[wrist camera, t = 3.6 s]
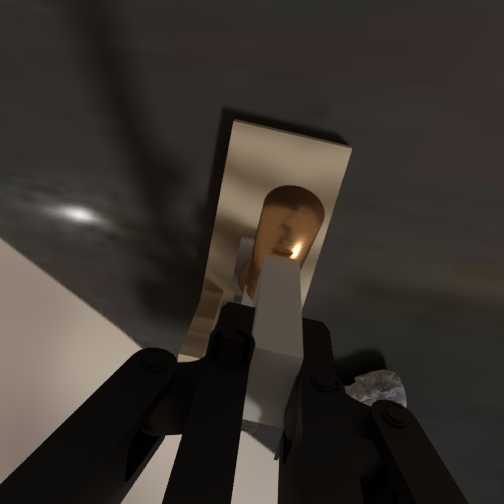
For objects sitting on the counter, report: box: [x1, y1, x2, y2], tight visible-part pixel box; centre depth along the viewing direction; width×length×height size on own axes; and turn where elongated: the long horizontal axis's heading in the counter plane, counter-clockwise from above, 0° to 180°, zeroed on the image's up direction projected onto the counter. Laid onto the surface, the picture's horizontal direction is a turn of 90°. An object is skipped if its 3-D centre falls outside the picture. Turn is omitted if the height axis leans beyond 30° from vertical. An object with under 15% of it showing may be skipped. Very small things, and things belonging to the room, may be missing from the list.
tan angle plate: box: [178, 119, 352, 362], centre depth 37 cm, size 22×11×13 cm, turn 168°
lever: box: [233, 185, 325, 433], centre depth 31 cm, size 32×6×8 cm
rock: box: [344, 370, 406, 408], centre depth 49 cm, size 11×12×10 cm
